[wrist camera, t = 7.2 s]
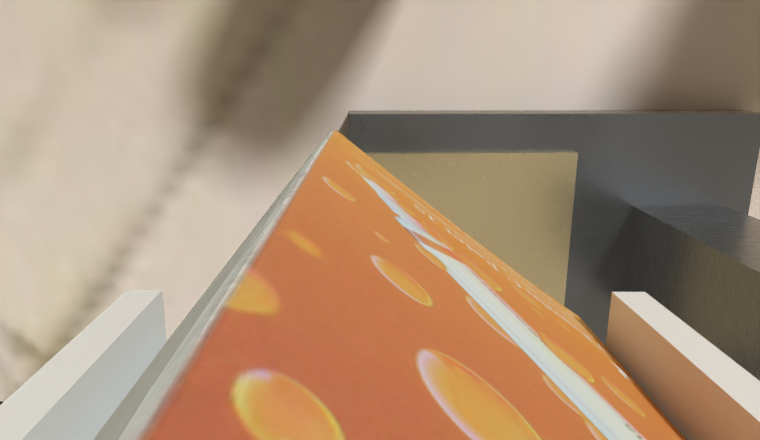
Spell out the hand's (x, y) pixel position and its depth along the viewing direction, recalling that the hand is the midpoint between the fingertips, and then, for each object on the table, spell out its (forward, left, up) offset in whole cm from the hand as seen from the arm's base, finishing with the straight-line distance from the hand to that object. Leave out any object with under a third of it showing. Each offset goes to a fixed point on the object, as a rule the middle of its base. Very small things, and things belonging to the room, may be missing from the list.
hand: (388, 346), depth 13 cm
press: (+9, -4, -21) cm, 23 cm away
